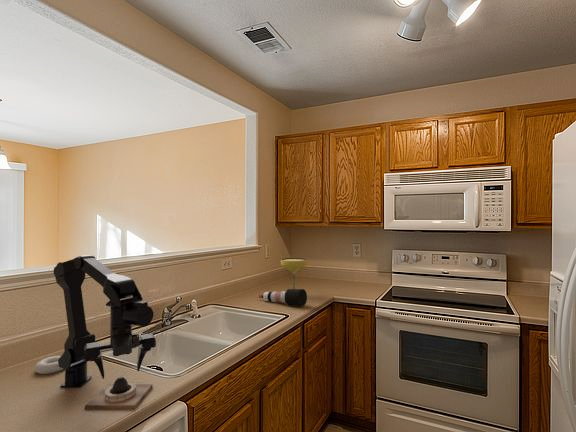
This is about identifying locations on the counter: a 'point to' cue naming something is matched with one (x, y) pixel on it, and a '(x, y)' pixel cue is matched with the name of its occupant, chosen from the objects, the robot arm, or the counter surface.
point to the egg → (120, 386)
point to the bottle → (287, 297)
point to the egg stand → (119, 397)
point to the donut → (48, 365)
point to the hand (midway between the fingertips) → (121, 374)
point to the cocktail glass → (293, 265)
